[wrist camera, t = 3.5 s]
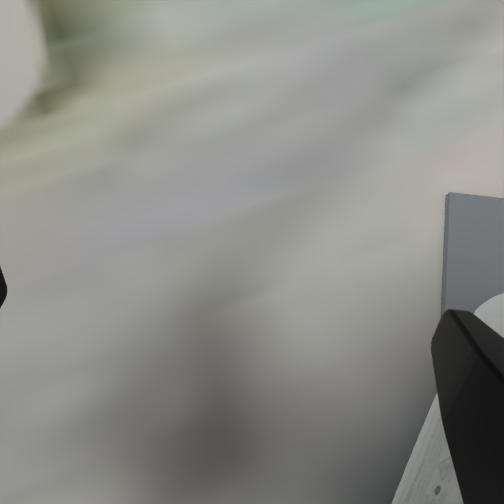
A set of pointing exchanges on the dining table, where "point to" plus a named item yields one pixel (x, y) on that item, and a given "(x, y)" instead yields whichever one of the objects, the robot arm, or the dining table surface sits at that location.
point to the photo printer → (440, 442)
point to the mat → (472, 251)
